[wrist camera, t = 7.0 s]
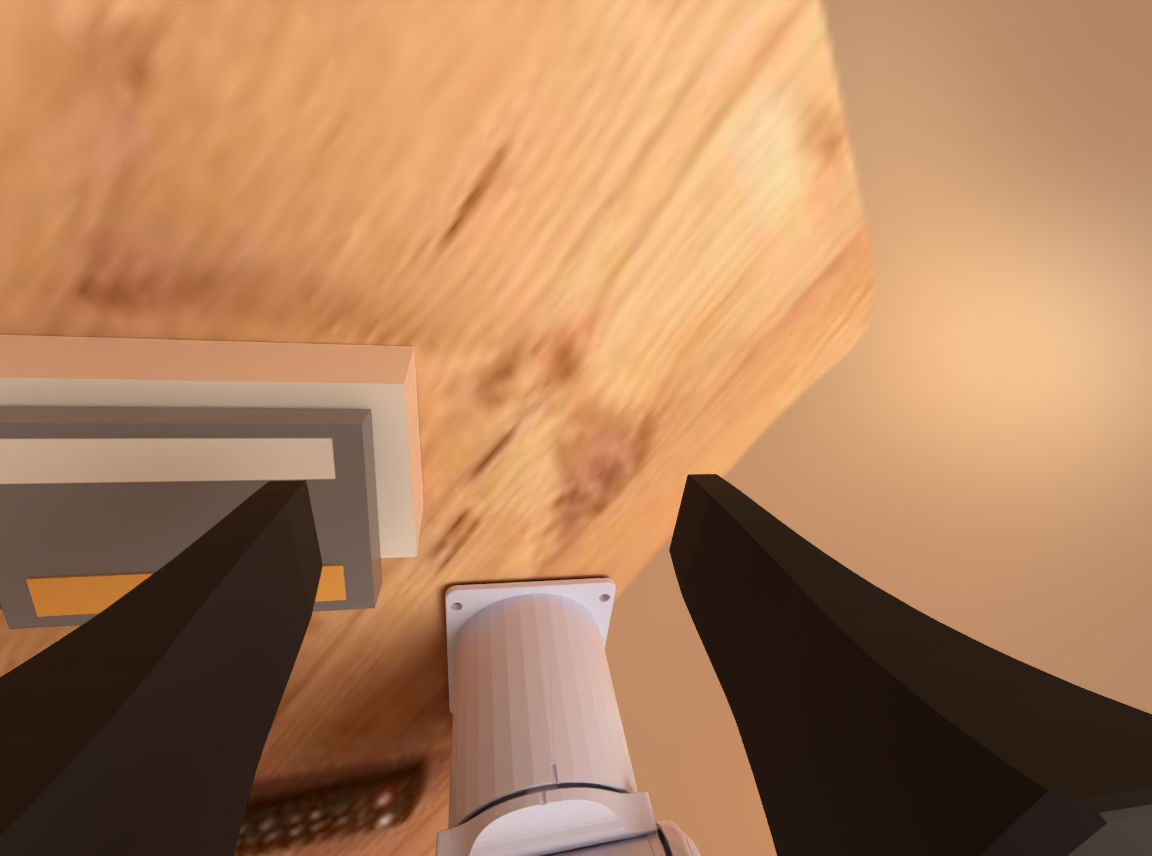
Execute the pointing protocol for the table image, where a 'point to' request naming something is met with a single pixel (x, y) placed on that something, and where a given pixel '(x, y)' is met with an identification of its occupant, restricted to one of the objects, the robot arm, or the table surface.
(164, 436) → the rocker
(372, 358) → the power strip
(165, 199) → the table surface
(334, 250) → the table surface
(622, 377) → the table surface
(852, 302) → the table surface
